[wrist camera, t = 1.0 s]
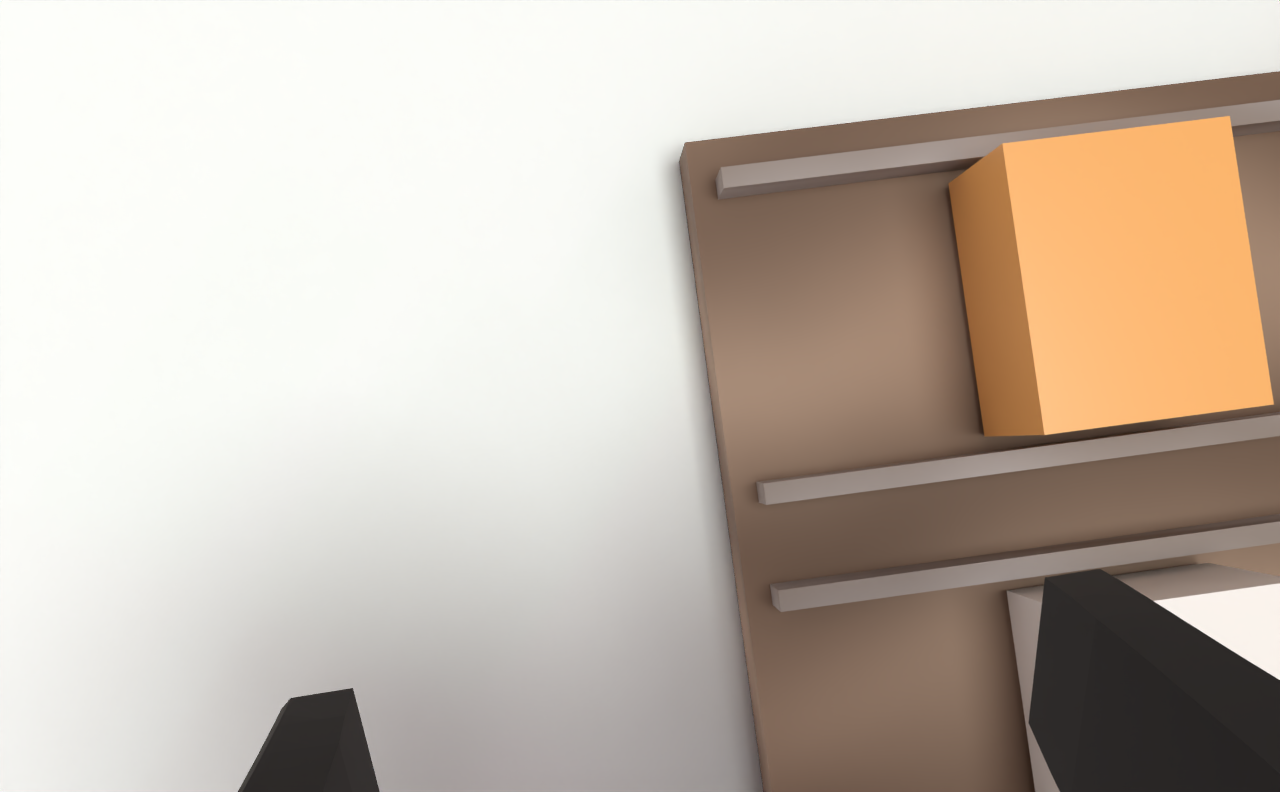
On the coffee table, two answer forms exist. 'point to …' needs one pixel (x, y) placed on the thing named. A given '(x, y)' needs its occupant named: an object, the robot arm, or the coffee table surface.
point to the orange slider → (1109, 279)
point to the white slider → (1199, 594)
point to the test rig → (933, 439)
